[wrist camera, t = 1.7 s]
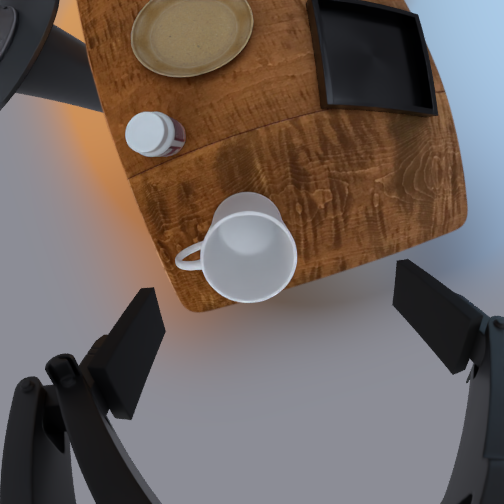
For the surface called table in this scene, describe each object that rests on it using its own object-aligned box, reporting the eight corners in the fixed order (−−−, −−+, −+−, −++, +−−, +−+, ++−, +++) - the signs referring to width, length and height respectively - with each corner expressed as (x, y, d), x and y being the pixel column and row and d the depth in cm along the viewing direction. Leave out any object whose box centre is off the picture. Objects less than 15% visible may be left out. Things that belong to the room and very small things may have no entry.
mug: (193, 267, 37) (173, 314, 25) (180, 201, 34) (150, 223, 23) (285, 254, 36) (303, 298, 25) (277, 187, 34) (295, 201, 22)
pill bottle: (158, 113, 30) (133, 101, 22) (192, 126, 31) (176, 116, 23) (142, 149, 32) (114, 147, 24) (176, 162, 32) (156, 164, 24)
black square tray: (320, 108, 31) (327, 104, 28) (305, 4, 26) (310, -7, 23) (426, 117, 31) (438, 115, 28) (408, 21, 26) (418, 14, 23)
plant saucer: (276, 40, 28) (279, 32, 25) (177, 105, 30) (172, 101, 28) (209, -24, 24) (207, -34, 21) (118, 35, 26) (111, 28, 24)
